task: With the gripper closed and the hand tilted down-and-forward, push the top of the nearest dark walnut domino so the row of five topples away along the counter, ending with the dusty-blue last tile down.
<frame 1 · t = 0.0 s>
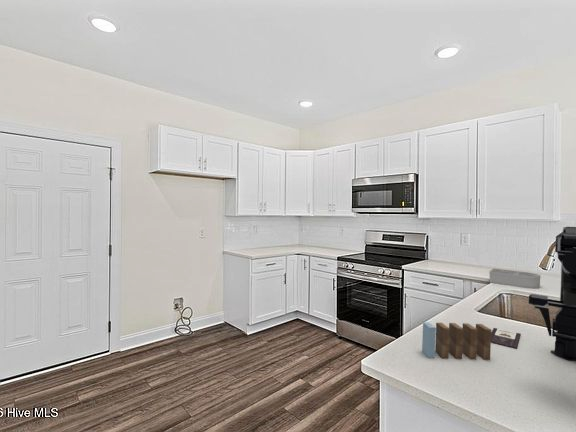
hand: (573, 341, 79), 15 cm above the counter, tool pointing down, fingers open, 9 cm apart
domino 2: (468, 355, 104), on the counter
domino 5: (428, 354, 104), on the counter
chocolate bar: (504, 339, 120), on the counter
gray rectangular block: (514, 285, 218), on the counter
domino 3: (455, 355, 104), on the counter
domino 4: (441, 355, 104), on the counter
domino 1: (482, 356, 104), on the counter
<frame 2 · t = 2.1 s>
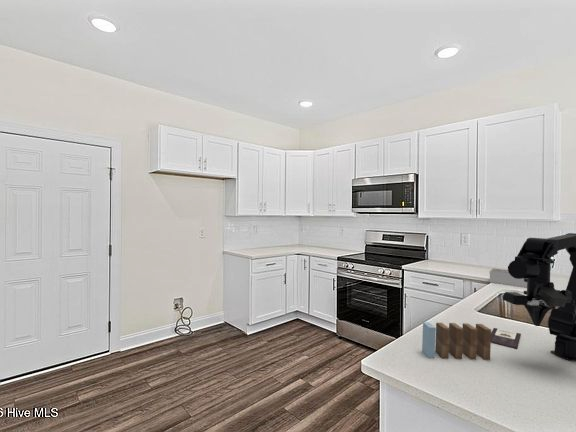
hand: (536, 325, 100), 12 cm above the counter, tool pointing down, fingers closed
nothing on the counter moved.
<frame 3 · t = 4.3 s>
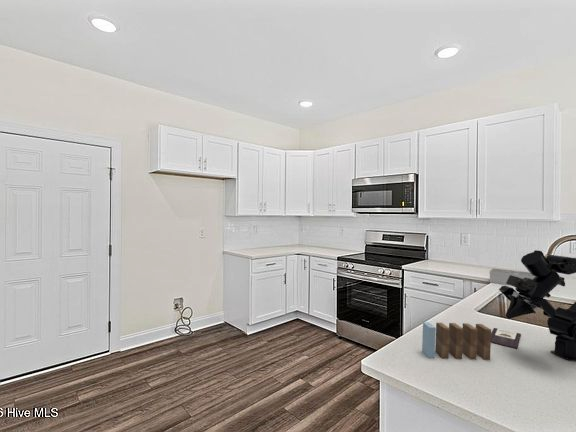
hand: (506, 317, 103), 13 cm above the counter, tool tilted 45°, fingers closed
nothing on the counter moved.
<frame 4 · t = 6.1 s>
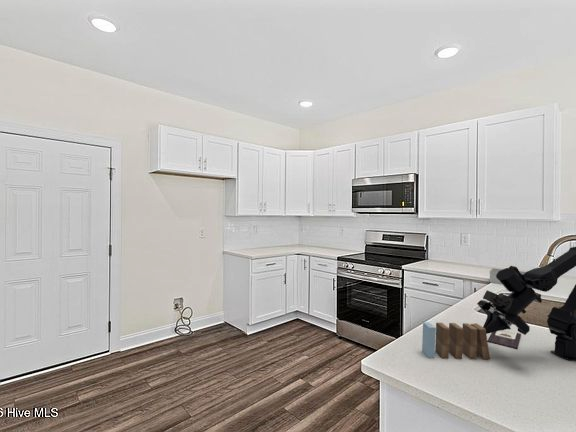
hand: (482, 332, 103), 8 cm above the counter, tool tilted 45°, fingers closed
domino 1: (482, 355, 104), on the counter, tilted 10°
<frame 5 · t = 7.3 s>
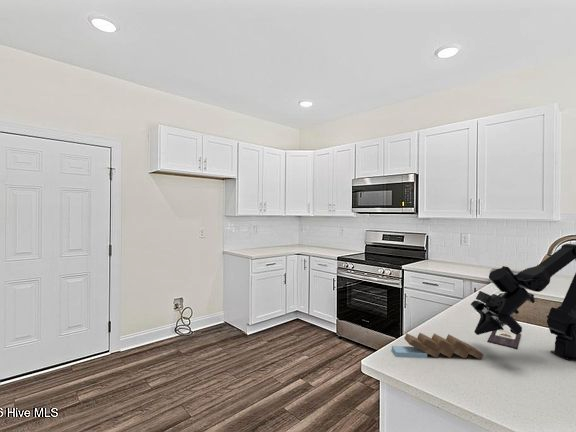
hand: (475, 333, 104), 8 cm above the counter, tool tilted 45°, fingers closed
domino 2: (463, 352, 104), point 1 cm above the counter, tilted 64°, touching domino 1, domino 3
domino 5: (424, 353, 104), on the counter, tilted 90°
domino 3: (448, 351, 104), point 1 cm above the counter, tilted 64°, touching domino 2, domino 4
domino 4: (435, 352, 104), point 1 cm above the counter, tilted 66°, touching domino 3
domino 1: (477, 353, 104), point 1 cm above the counter, tilted 65°, touching domino 2
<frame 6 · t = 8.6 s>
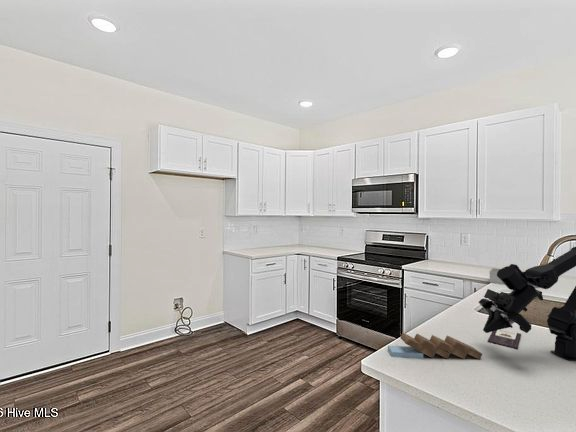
hand: (484, 331, 104), 8 cm above the counter, tool tilted 45°, fingers closed
domino 2: (461, 352, 104), point 1 cm above the counter, tilted 66°, touching domino 1
domino 5: (420, 352, 104), point 1 cm above the counter, tilted 90°, touching domino 4
domino 3: (444, 352, 103), point 1 cm above the counter, tilted 64°, touching domino 4
domino 4: (430, 352, 104), point 1 cm above the counter, tilted 63°, touching domino 3, domino 5
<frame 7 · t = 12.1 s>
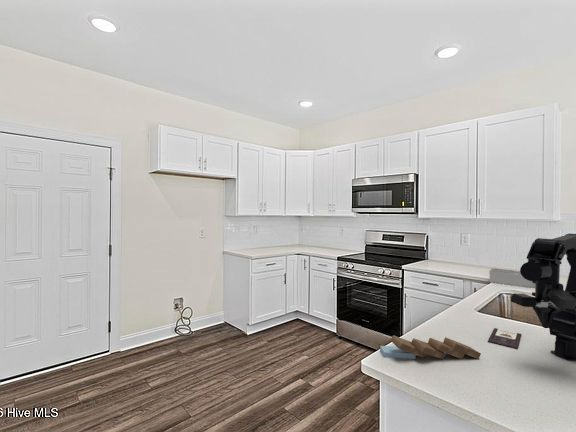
hand: (545, 327, 98), 12 cm above the counter, tool pointing down, fingers closed
domino 2: (457, 352, 104), point 1 cm above the counter, tilted 69°, touching domino 1, domino 3
domino 5: (412, 353, 103), point 1 cm above the counter, tilted 90°, touching domino 4
domino 3: (438, 352, 103), point 1 cm above the counter, tilted 69°, touching domino 2, domino 4
domino 4: (420, 350, 103), point 2 cm above the counter, tilted 68°, touching domino 3, domino 5
at the end: domino 5 tilted 90°; domino 1 tilted 69°; the gripper is holding nothing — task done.
